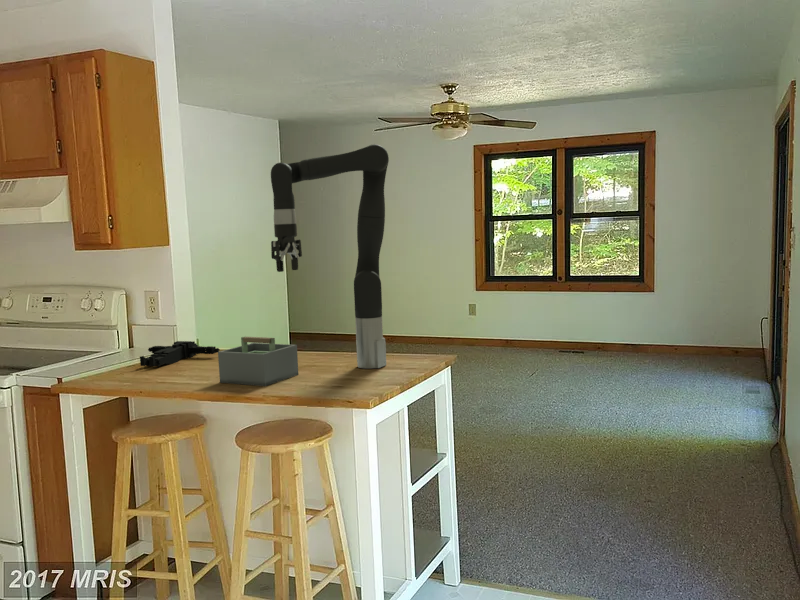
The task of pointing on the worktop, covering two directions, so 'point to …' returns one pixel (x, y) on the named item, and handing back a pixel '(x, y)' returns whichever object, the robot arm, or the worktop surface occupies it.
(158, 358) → the toy
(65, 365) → the worktop surface
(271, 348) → the green basket
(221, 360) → the charcoal crate
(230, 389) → the worktop surface
